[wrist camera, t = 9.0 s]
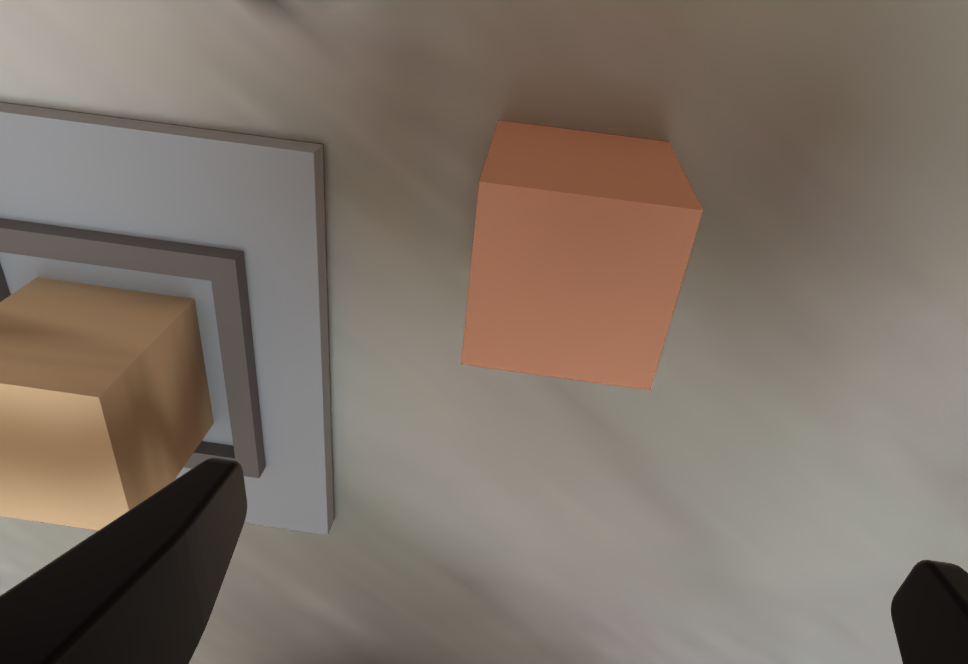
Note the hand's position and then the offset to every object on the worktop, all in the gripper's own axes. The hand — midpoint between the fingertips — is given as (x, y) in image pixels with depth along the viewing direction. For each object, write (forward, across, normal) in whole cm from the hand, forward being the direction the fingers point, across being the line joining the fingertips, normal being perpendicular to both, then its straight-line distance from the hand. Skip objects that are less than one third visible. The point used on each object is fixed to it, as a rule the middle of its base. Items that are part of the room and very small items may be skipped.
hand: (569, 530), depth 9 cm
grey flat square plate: (+12, +13, +6) cm, 19 cm away
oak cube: (+11, +13, +6) cm, 18 cm away
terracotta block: (+12, 0, 0) cm, 12 cm away
